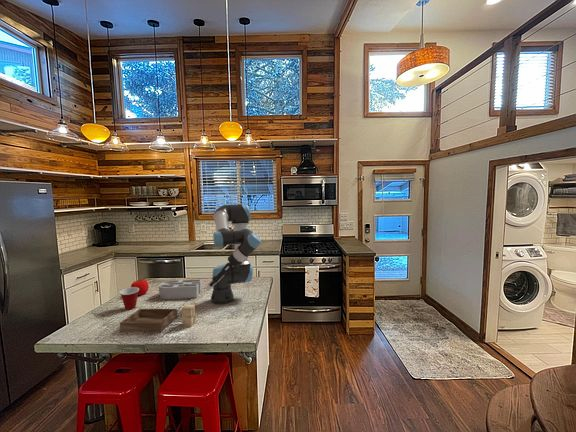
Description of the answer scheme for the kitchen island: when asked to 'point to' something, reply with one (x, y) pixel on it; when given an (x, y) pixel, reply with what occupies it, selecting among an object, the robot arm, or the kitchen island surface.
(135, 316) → the walnut crate
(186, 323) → the oak peg
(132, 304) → the plastic cup
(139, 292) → the tomato
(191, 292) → the grey compartment tray
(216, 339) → the kitchen island surface
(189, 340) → the kitchen island surface
